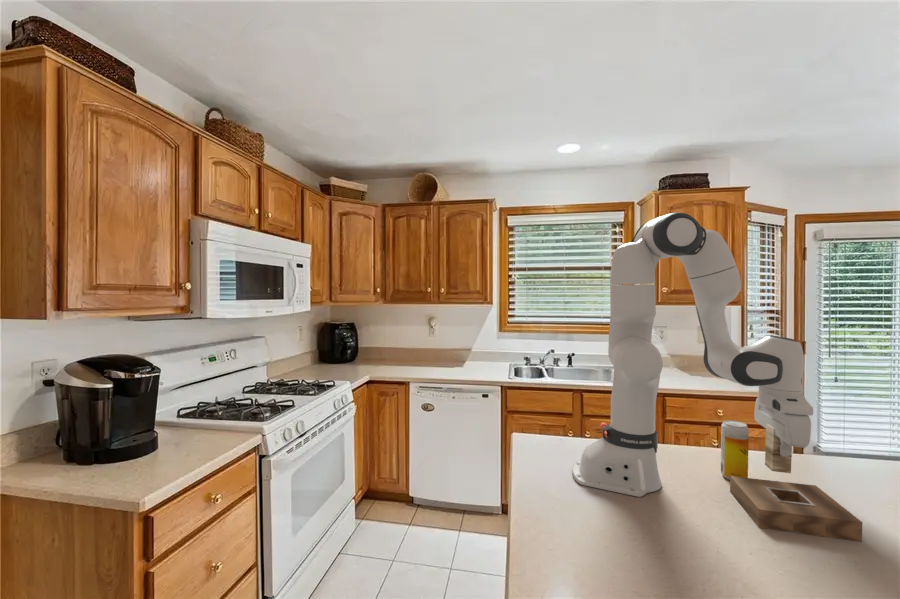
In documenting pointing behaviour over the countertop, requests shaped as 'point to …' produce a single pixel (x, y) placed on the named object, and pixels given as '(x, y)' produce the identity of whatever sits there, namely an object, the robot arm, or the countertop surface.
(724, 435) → the beer can
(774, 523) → the walnut board
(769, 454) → the birch peg
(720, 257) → the robot arm
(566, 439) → the countertop surface
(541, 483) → the countertop surface
